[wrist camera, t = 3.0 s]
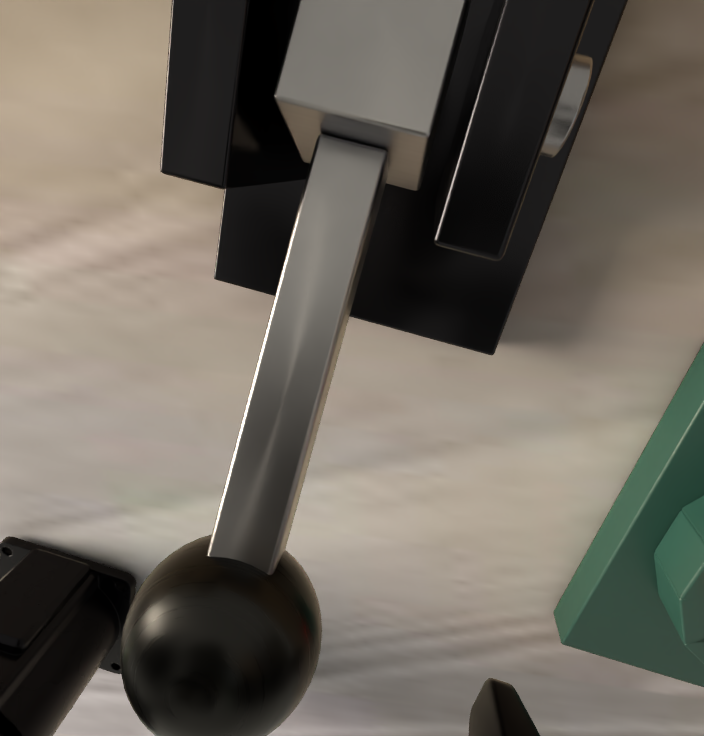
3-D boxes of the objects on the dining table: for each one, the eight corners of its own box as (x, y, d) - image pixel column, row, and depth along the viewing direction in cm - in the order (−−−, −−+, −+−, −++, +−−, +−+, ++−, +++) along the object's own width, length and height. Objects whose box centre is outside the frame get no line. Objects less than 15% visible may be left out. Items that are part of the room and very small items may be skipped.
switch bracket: (489, 344, 16) (541, 519, 8) (227, 272, 17) (34, 371, 9) (666, -130, 12) (1197, -814, 3) (291, -213, 12) (-6, -976, 4)
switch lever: (307, 686, 10) (270, 845, 7) (156, 637, 10) (50, 772, 7) (486, 55, 9) (538, -98, 6) (318, 15, 9) (283, -155, 6)
